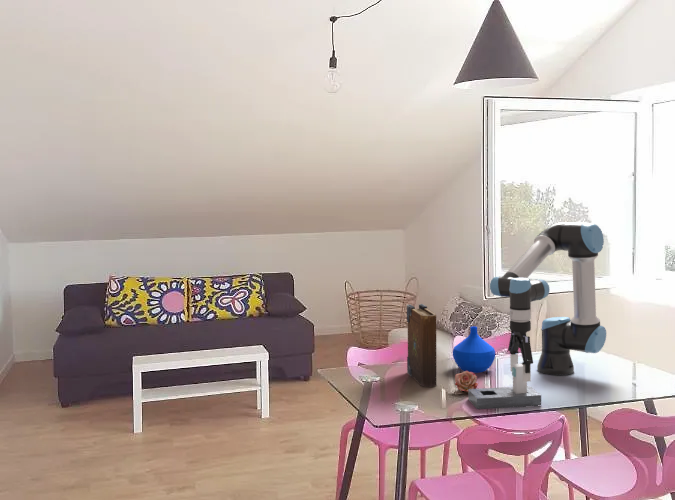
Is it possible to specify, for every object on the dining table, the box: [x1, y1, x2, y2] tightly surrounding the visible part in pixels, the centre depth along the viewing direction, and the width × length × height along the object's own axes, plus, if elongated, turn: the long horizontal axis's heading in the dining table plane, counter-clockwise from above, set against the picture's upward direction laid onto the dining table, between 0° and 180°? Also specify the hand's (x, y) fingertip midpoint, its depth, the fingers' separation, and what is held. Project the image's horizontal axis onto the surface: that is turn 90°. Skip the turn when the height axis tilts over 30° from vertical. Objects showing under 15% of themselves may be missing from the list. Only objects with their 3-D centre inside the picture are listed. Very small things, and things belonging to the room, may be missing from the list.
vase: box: [452, 325, 496, 374], centre depth 325 cm, size 18×18×19 cm
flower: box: [454, 371, 479, 393], centre depth 293 cm, size 10×9×8 cm
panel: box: [467, 385, 542, 410], centre depth 278 cm, size 24×12×4 cm, turn 95°
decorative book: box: [406, 303, 437, 388], centre depth 311 cm, size 23×7×30 cm, turn 10°
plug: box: [511, 363, 528, 394], centre depth 278 cm, size 5×4×14 cm
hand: (520, 376), depth 278 cm, fingers open, 13 cm apart
